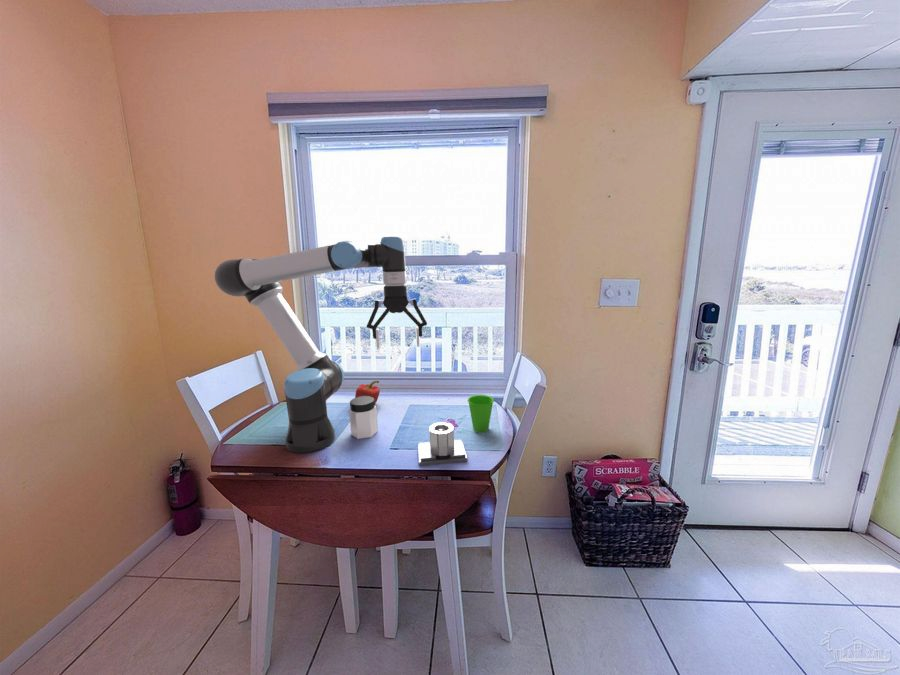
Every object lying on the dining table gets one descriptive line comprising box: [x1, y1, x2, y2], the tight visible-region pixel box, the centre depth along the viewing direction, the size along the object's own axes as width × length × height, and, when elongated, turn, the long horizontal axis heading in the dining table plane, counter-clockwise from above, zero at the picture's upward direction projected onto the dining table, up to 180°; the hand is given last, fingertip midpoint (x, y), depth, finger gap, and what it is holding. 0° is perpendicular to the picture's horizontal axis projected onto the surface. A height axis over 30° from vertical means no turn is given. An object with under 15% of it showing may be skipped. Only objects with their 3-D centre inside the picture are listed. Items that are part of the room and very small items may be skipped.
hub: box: [429, 422, 455, 456], centre depth 103 cm, size 7×7×7 cm
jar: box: [348, 396, 379, 440], centre depth 118 cm, size 9×8×12 cm
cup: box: [467, 394, 495, 434], centre depth 119 cm, size 9×9×11 cm
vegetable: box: [354, 380, 381, 405], centre depth 142 cm, size 11×10×10 cm
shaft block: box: [417, 427, 468, 467], centre depth 104 cm, size 14×10×8 cm
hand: (398, 346), depth 120 cm, fingers open, 13 cm apart
